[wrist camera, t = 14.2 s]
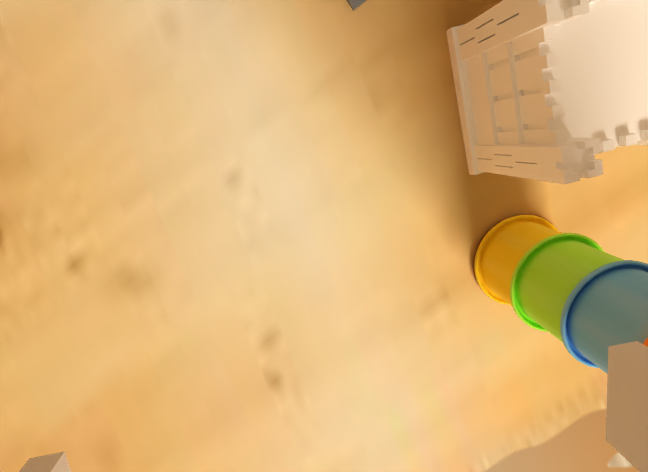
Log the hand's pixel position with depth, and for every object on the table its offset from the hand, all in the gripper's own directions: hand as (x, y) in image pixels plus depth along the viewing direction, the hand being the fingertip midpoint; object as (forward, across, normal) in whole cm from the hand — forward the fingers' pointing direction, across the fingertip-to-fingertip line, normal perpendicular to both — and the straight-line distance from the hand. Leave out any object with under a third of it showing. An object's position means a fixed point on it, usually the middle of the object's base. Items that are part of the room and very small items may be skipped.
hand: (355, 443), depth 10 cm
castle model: (+34, +25, +8) cm, 43 cm away
